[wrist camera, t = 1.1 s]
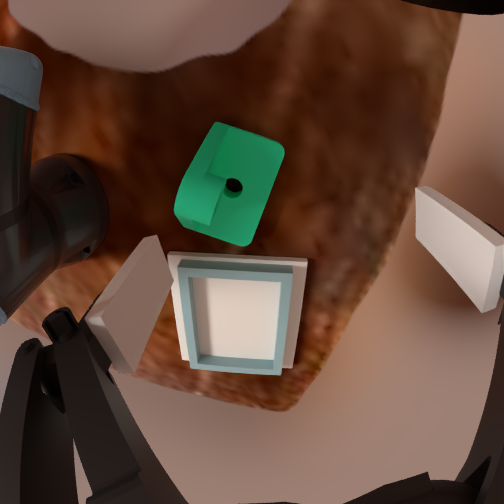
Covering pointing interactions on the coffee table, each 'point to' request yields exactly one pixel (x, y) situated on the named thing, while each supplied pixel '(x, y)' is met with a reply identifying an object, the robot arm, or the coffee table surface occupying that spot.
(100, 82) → the coffee table surface
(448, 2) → the flared trumpet-armed statue
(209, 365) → the dock
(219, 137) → the camera mount
